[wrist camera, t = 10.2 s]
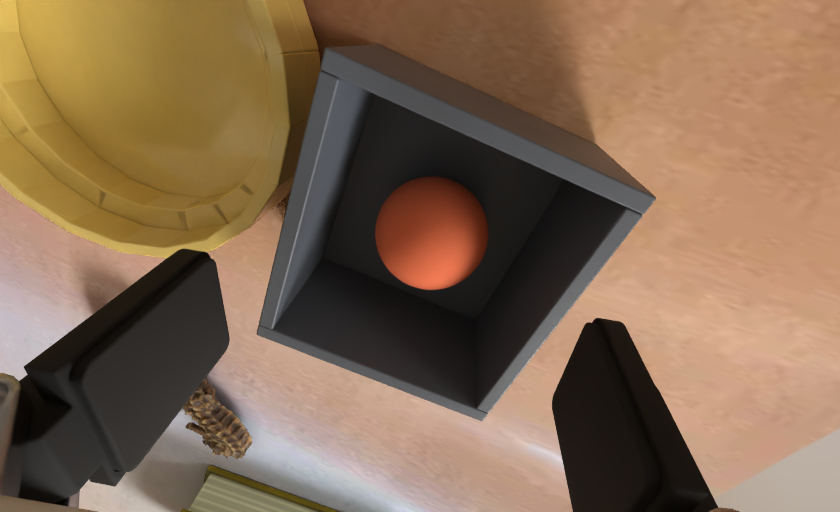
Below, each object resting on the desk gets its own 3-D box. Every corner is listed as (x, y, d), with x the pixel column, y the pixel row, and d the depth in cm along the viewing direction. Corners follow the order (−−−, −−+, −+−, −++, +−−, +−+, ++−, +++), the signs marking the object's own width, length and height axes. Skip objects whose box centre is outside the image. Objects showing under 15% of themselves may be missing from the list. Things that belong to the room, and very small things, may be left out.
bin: (377, 43, 16) (324, 46, 10) (597, 144, 17) (658, 198, 11) (313, 257, 22) (255, 334, 16) (480, 325, 22) (482, 422, 17)
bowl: (-48, -260, 13) (-236, -367, 10) (371, -58, 14) (337, -88, 11) (16, 152, 21) (-77, 176, 17) (287, 262, 22) (251, 304, 18)
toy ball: (408, 144, 17) (386, 180, 13) (505, 187, 18) (514, 235, 14) (374, 232, 20) (347, 285, 16) (460, 268, 20) (456, 329, 16)
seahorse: (149, 293, 24) (123, 313, 22) (275, 443, 30) (262, 466, 29) (95, 308, 26) (68, 327, 24) (223, 446, 32) (208, 468, 31)
